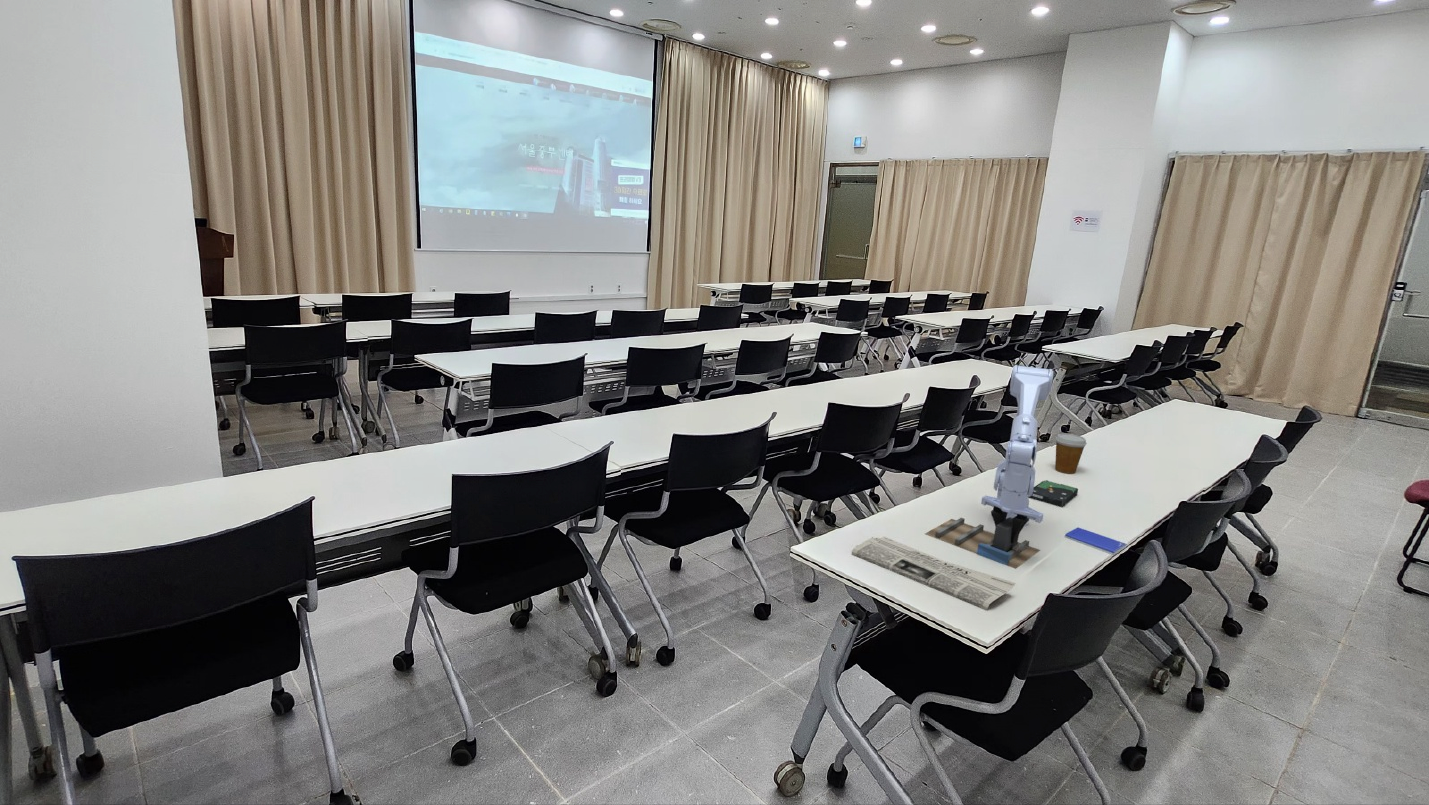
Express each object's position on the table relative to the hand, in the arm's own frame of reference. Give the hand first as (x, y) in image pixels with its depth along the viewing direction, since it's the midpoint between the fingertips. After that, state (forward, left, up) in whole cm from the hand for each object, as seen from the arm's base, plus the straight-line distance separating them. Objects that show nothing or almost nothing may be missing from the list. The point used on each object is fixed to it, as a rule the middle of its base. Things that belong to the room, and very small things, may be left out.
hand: (1006, 539), depth 175 cm
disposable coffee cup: (-79, -13, -4) cm, 80 cm away
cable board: (0, -6, -4) cm, 7 cm away
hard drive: (-26, +13, -5) cm, 30 cm away
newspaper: (+24, -7, -4) cm, 26 cm away
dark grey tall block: (0, 0, -3) cm, 3 cm away
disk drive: (-51, -7, -5) cm, 52 cm away
